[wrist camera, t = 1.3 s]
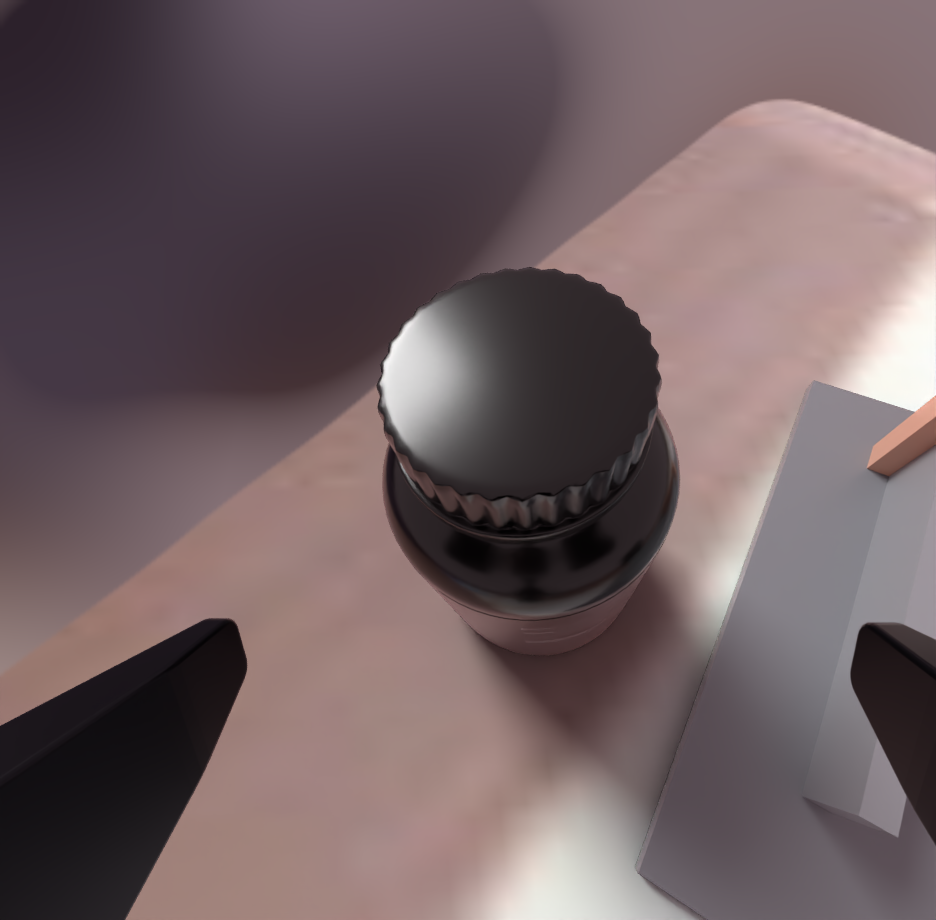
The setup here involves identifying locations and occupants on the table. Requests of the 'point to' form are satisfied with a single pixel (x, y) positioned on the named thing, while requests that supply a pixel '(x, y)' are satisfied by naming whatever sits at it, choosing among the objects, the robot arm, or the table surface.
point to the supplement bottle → (528, 455)
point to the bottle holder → (809, 688)
